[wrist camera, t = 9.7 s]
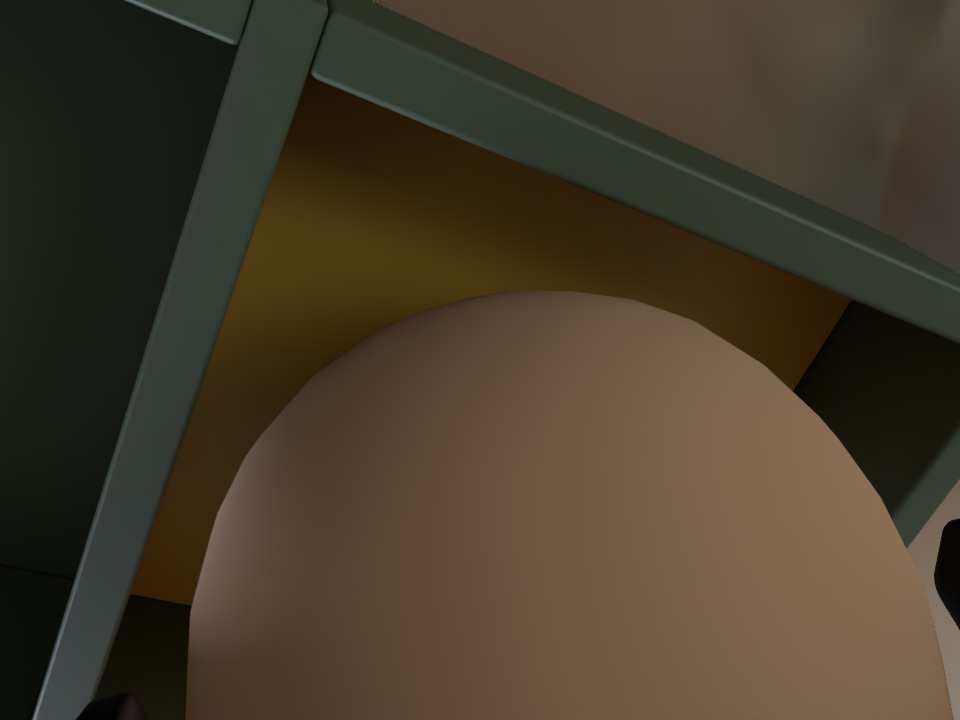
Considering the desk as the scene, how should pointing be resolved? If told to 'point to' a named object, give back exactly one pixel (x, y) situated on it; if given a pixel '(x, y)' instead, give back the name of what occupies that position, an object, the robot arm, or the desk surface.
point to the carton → (351, 284)
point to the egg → (556, 537)
